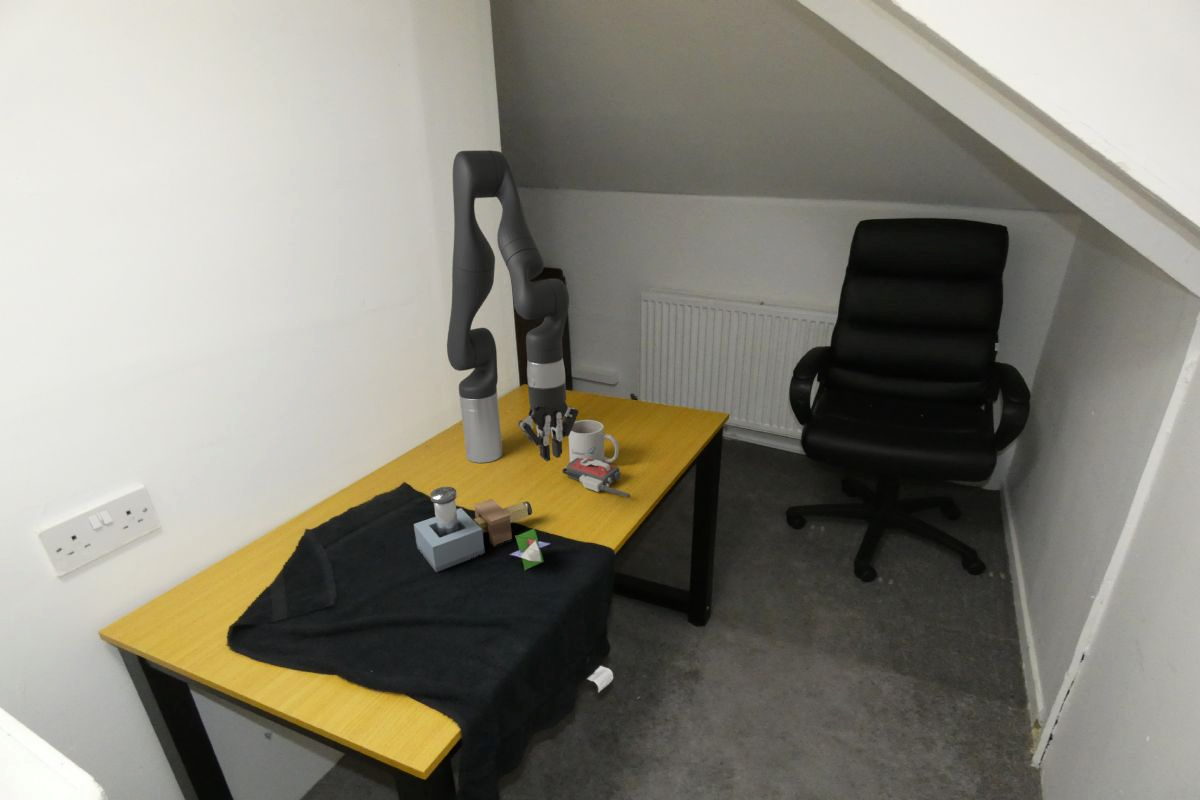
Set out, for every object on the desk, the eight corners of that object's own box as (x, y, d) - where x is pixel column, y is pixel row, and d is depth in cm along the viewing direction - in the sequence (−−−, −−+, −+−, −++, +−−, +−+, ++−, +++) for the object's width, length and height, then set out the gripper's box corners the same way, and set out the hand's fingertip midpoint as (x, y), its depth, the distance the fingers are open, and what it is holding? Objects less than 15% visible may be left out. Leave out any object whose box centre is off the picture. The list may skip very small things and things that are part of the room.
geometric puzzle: (500, 548, 126) (510, 530, 120) (530, 535, 130) (541, 517, 124) (517, 580, 124) (528, 564, 118) (548, 566, 127) (560, 550, 122)
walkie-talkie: (556, 480, 155) (627, 504, 144) (555, 463, 154) (626, 486, 143) (578, 464, 162) (648, 485, 151) (577, 448, 160) (647, 469, 149)
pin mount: (477, 529, 137) (474, 504, 135) (494, 522, 139) (491, 498, 137) (494, 546, 131) (491, 521, 128) (511, 539, 133) (509, 515, 130)
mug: (563, 467, 162) (561, 430, 158) (581, 453, 169) (579, 417, 165) (607, 477, 156) (606, 439, 152) (623, 463, 163) (623, 426, 159)
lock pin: (474, 529, 133) (473, 517, 132) (525, 511, 140) (524, 498, 138) (480, 536, 131) (479, 523, 130) (532, 517, 137) (531, 504, 136)
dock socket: (417, 547, 131) (413, 524, 129) (463, 531, 136) (461, 508, 134) (436, 572, 123) (432, 547, 121) (484, 553, 128) (482, 529, 126)
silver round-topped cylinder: (434, 545, 130) (426, 491, 126) (456, 536, 132) (450, 484, 128) (443, 556, 126) (436, 501, 122) (466, 547, 129) (460, 494, 124)
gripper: (565, 368, 138) (569, 443, 144) (507, 382, 130) (513, 460, 137) (585, 377, 132) (588, 455, 138) (525, 393, 125) (531, 474, 131)
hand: (551, 457), depth 137 cm, fingers closed
